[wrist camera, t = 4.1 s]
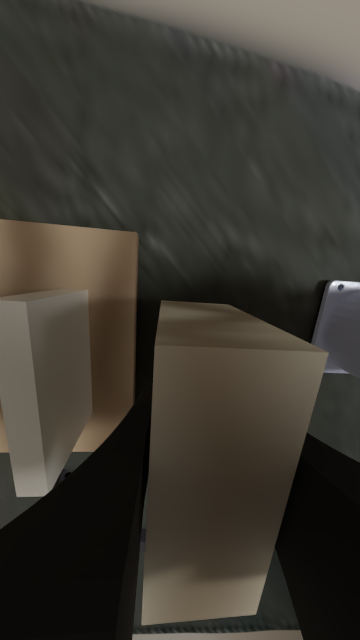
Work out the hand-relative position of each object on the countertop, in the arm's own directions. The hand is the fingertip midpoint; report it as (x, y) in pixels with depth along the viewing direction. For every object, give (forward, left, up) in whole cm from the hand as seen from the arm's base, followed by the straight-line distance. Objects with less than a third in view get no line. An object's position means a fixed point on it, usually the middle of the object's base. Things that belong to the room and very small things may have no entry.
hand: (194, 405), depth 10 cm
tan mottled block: (0, 0, -2) cm, 2 cm away
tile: (+8, 0, -5) cm, 10 cm away
